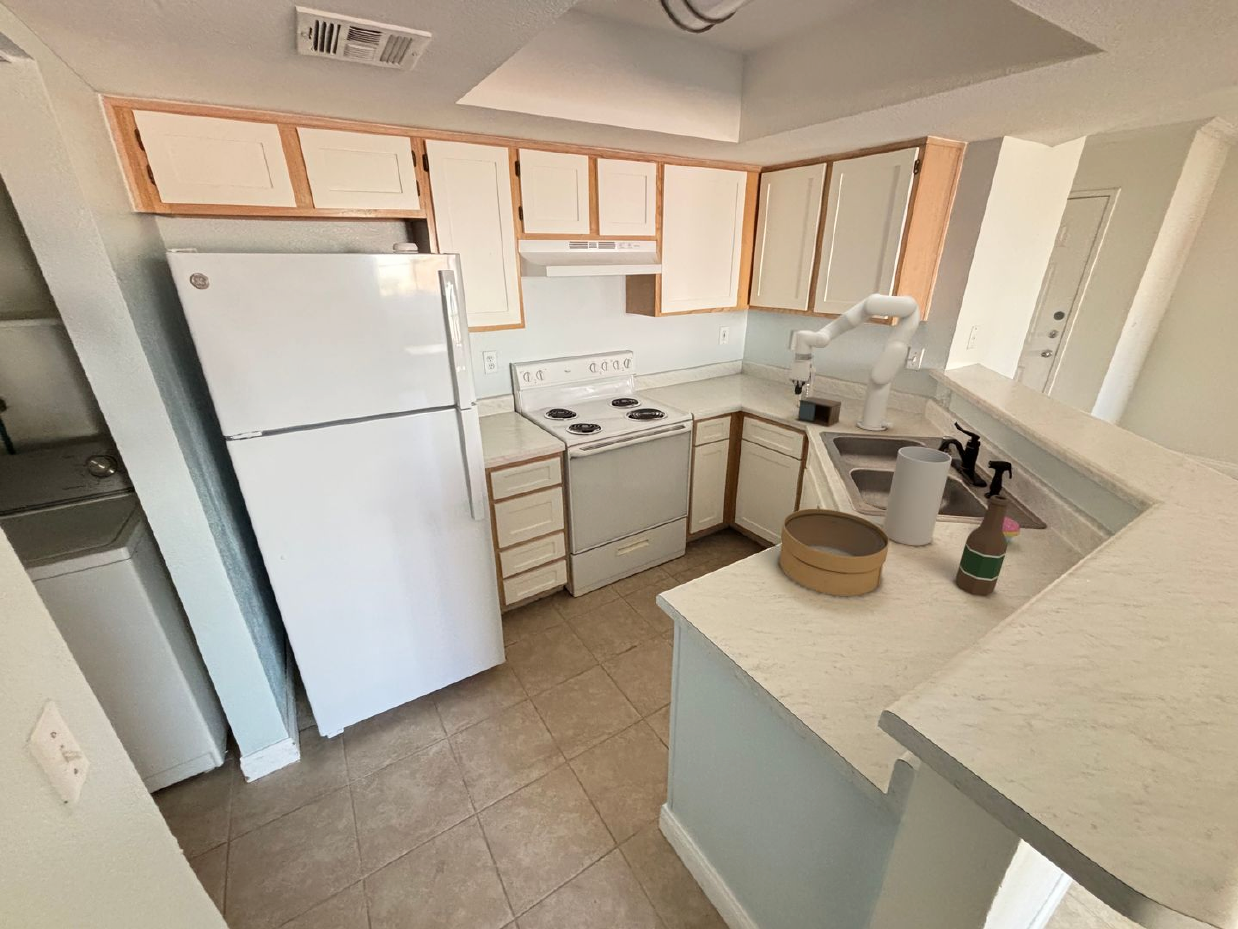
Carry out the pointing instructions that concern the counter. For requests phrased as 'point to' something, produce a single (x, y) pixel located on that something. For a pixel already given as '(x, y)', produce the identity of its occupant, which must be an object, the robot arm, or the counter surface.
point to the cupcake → (1010, 528)
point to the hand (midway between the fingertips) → (797, 394)
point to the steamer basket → (827, 568)
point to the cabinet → (824, 411)
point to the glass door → (806, 408)
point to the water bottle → (808, 386)
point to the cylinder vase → (916, 495)
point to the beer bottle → (984, 551)
